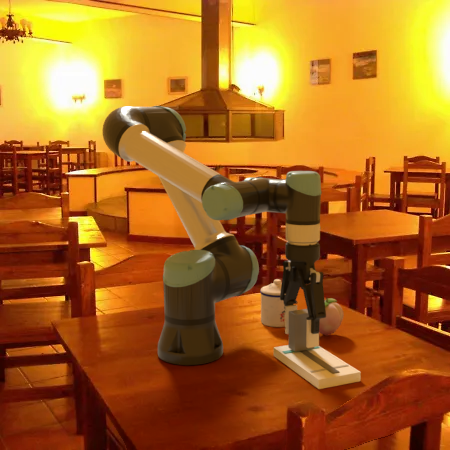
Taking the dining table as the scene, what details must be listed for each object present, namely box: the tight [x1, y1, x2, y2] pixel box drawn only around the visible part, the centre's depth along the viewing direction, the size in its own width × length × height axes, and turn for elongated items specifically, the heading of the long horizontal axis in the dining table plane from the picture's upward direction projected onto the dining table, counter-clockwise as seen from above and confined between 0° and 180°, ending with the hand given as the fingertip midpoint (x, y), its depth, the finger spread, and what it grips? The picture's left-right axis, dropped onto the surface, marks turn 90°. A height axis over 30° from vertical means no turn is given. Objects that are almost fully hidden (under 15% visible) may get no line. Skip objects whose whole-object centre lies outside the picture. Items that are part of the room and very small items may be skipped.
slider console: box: [273, 344, 362, 390], centre depth 140 cm, size 10×20×2 cm, turn 23°
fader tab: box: [287, 308, 314, 352], centre depth 145 cm, size 5×3×8 cm, turn 113°
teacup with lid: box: [260, 278, 295, 328], centre depth 172 cm, size 12×9×12 cm
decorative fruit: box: [319, 296, 345, 337], centre depth 160 cm, size 9×8×10 cm
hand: (301, 339), depth 145 cm, fingers open, 9 cm apart
